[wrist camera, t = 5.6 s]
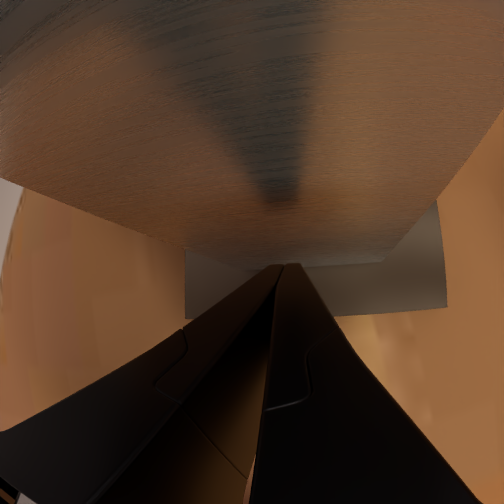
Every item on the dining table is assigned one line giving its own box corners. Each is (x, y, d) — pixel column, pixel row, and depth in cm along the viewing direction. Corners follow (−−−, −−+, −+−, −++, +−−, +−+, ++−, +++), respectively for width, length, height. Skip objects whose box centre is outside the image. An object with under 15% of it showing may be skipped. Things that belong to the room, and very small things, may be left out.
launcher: (440, 307, 15) (537, 305, 6) (194, 318, 19) (73, 322, 9) (357, -21, 20) (346, -104, 11) (209, 2, 23) (168, -71, 14)
